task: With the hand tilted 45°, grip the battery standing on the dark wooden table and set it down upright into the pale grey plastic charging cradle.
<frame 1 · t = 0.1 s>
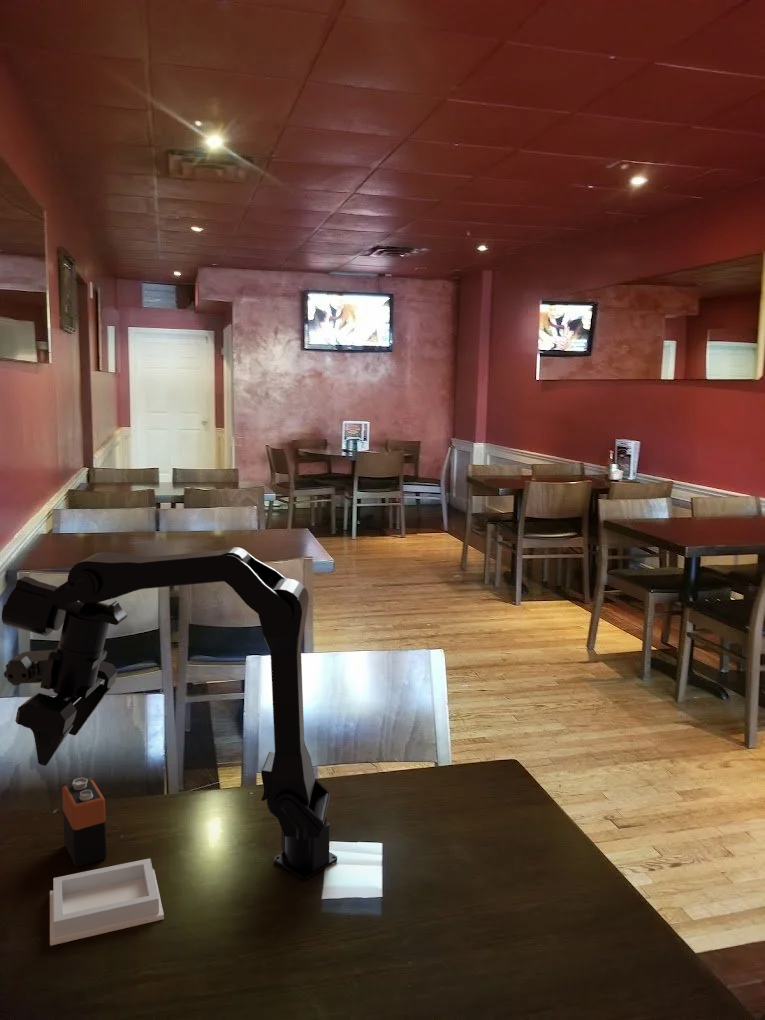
hand: (58, 748, 109), 15 cm above the table, tool pointing down, fingers open, 9 cm apart
battery: (85, 853, 111), on the table
charging cradle: (105, 906, 100), on the table
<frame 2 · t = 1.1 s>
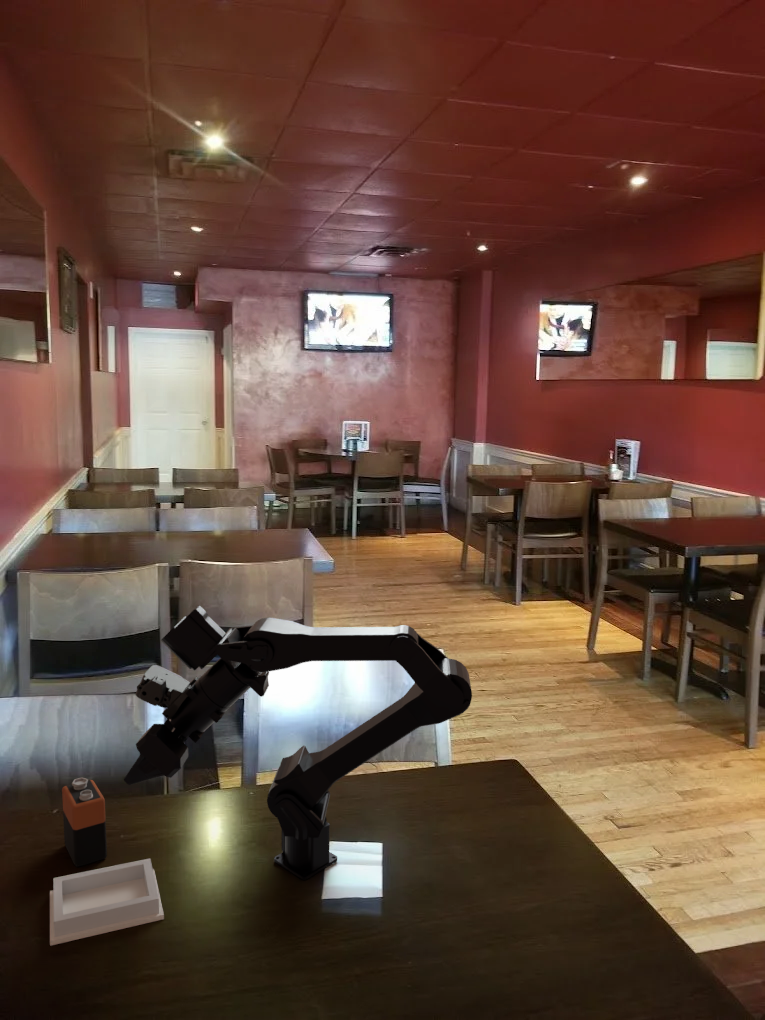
hand: (138, 765, 109), 13 cm above the table, tool tilted 45°, fingers open, 9 cm apart
nothing on the table moved.
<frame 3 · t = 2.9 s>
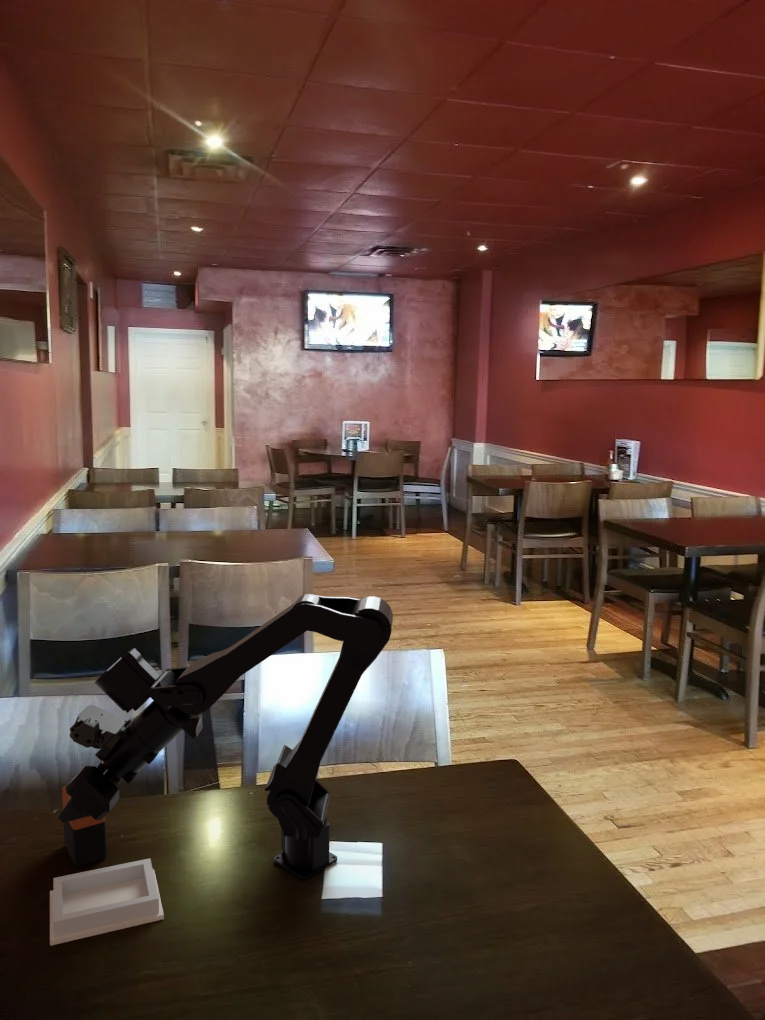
hand: (73, 804, 110), 7 cm above the table, tool tilted 45°, fingers closed on battery, 8 cm apart
battery: (85, 853, 111), on the table, touching gripper
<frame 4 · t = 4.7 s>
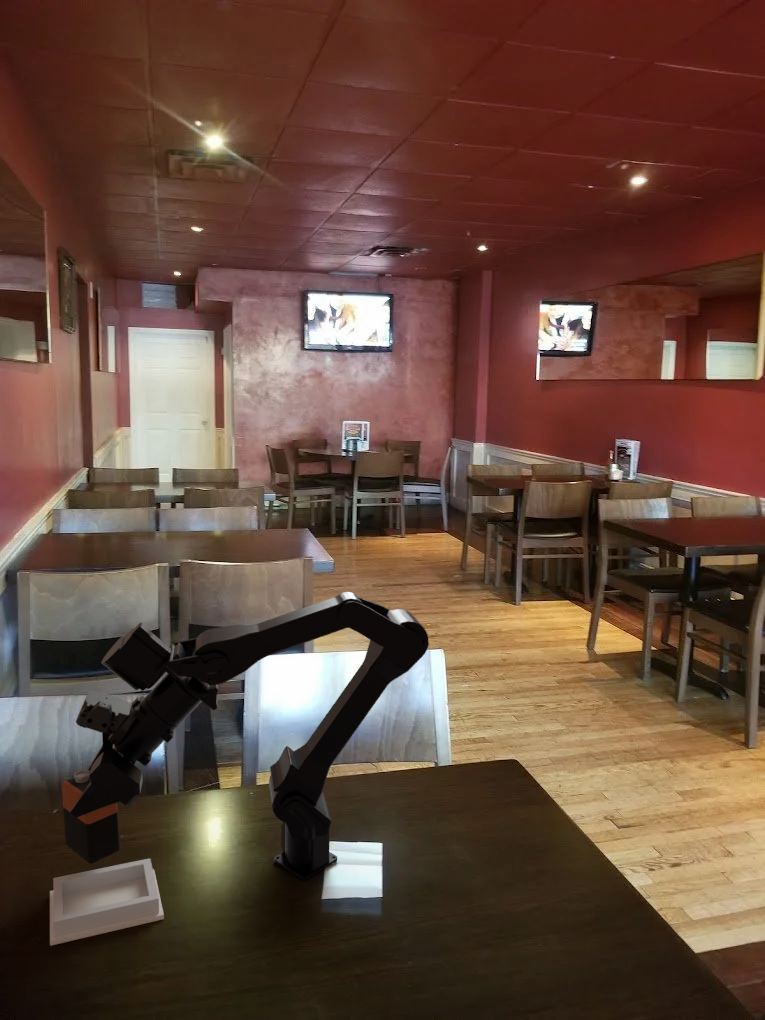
hand: (78, 798, 102), 12 cm above the table, tool tilted 45°, fingers closed on battery, 8 cm apart
battery: (92, 850, 103), point 5 cm above the table, touching gripper
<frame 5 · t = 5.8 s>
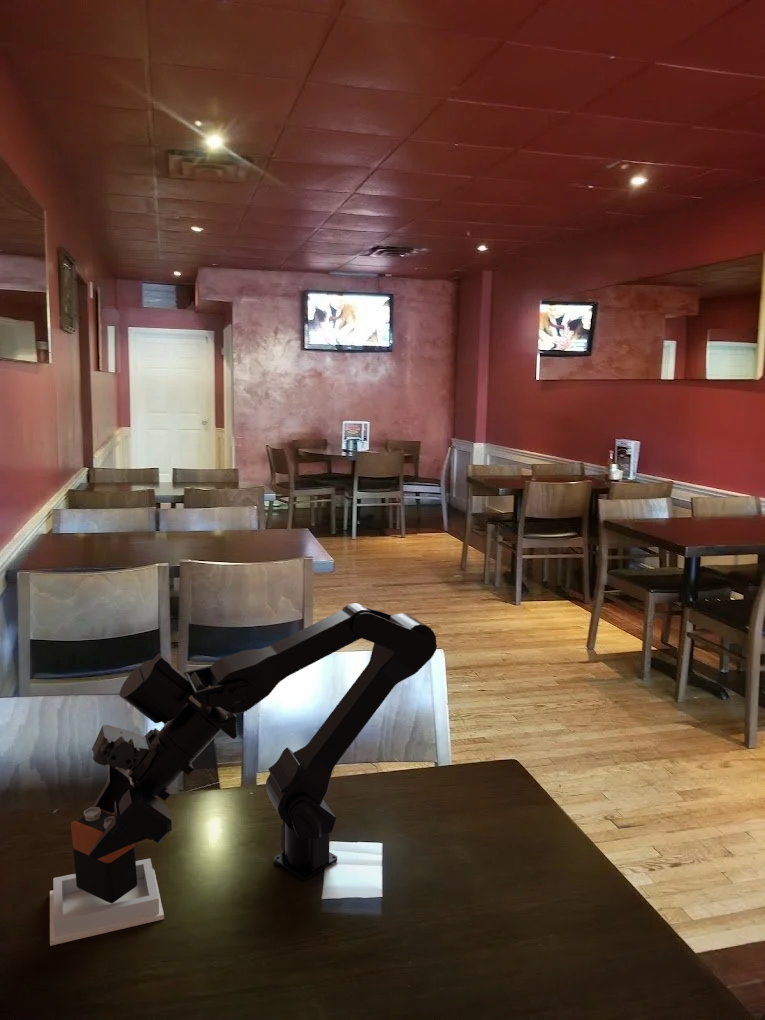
hand: (90, 839, 98), 10 cm above the table, tool tilted 45°, fingers closed on battery, 8 cm apart
battery: (107, 888, 99), point 2 cm above the table, touching charging cradle, gripper
when the fingers open (9 cm above the table, at t = 6.5 s): battery stays where it is, resting on charging cradle.
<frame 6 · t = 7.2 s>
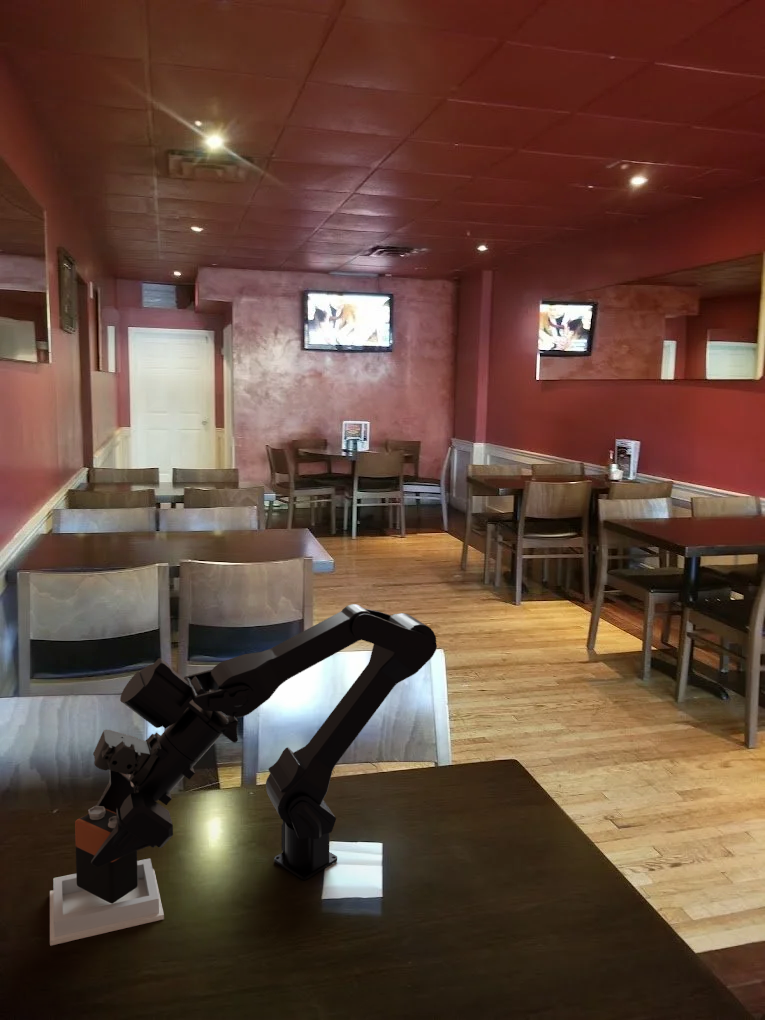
hand: (92, 844, 98), 9 cm above the table, tool tilted 45°, fingers open, 9 cm apart
battery: (107, 889, 99), point 2 cm above the table, touching charging cradle
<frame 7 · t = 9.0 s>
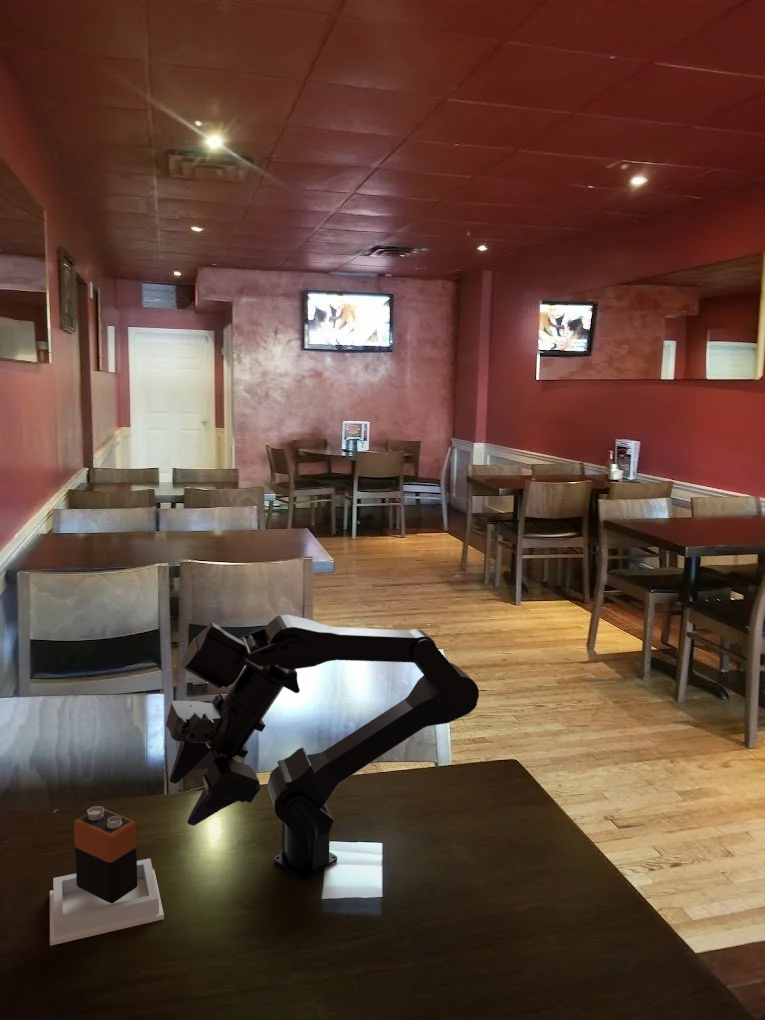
hand: (181, 802, 104), 11 cm above the table, tool tilted 35°, fingers open, 9 cm apart
nothing on the table moved.
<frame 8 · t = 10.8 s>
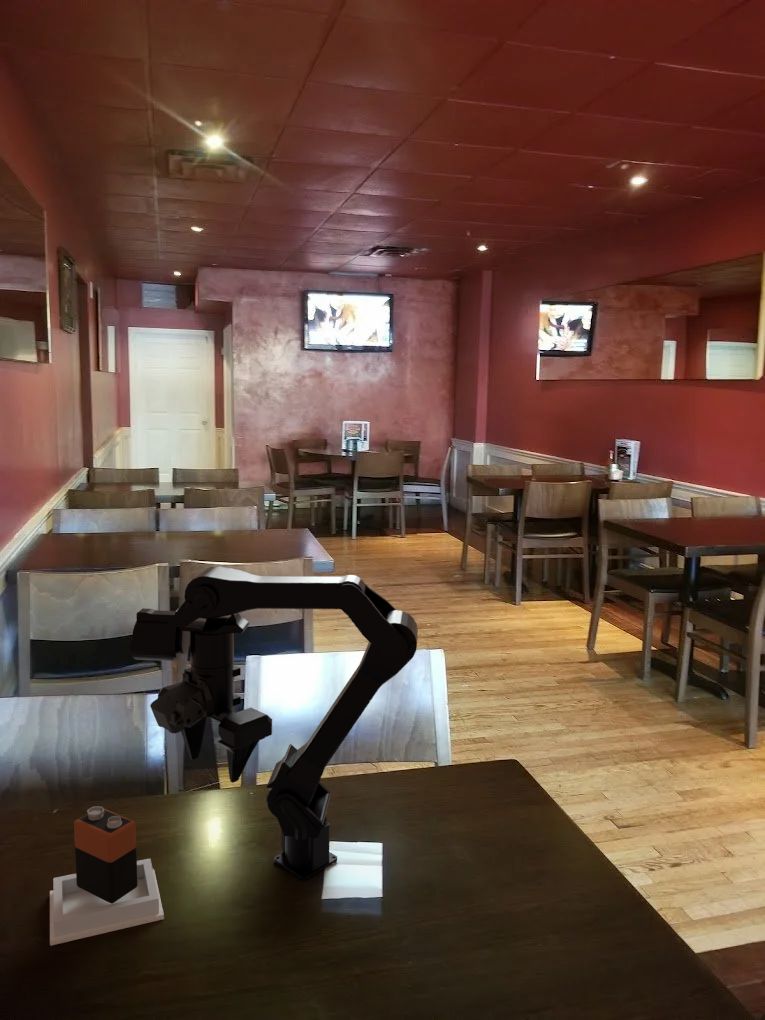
hand: (214, 769, 109), 13 cm above the table, tool pointing down, fingers open, 9 cm apart
nothing on the table moved.
at the end: battery 0.2 cm off-centre on the charging cradle, point 2.4 cm above the charging cradle's base; battery tilted 0°; the gripper is holding nothing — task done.
